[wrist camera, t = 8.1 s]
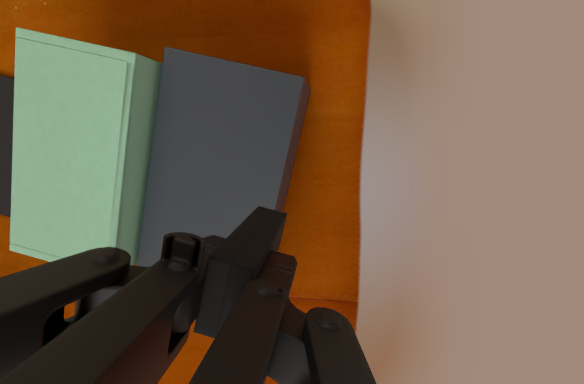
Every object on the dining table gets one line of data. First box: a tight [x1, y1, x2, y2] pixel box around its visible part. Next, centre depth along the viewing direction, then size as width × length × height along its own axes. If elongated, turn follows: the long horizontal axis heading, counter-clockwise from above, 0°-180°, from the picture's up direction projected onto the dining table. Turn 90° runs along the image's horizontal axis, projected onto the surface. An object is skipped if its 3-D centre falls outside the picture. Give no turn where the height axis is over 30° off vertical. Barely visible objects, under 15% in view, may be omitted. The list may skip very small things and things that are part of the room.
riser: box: [137, 47, 311, 267], centre depth 27 cm, size 18×10×6 cm, turn 167°
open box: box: [10, 27, 163, 265], centre depth 26 cm, size 16×8×8 cm
